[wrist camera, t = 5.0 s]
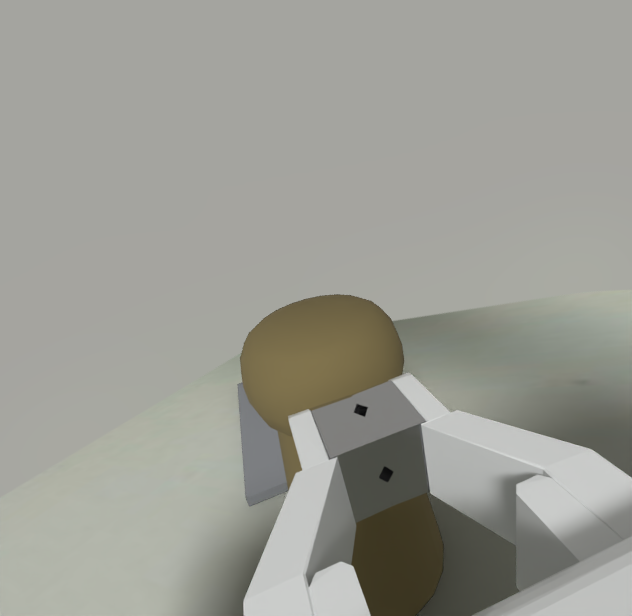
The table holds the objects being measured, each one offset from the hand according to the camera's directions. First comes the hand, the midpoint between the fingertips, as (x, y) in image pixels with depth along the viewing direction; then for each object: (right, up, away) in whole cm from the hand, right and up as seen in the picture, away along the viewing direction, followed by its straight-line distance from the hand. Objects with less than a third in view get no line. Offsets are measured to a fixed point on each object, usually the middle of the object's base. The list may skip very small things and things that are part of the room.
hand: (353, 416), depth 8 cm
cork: (+1, -8, +7) cm, 10 cm away
